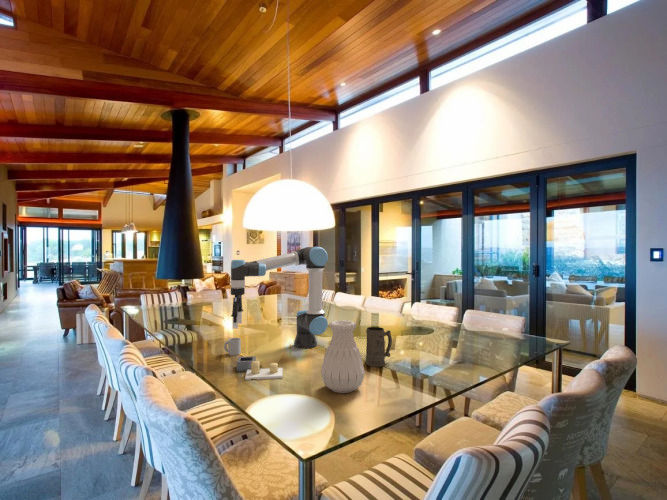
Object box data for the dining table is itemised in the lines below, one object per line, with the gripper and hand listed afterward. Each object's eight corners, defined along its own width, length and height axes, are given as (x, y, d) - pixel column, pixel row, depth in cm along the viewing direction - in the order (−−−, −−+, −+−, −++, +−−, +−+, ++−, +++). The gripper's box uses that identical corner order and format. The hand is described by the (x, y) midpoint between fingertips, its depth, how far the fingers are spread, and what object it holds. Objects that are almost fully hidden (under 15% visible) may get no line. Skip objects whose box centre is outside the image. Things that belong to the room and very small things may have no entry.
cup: (238, 355, 212) (238, 340, 212) (222, 355, 212) (222, 340, 212) (242, 352, 220) (242, 337, 220) (225, 352, 220) (225, 337, 220)
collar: (255, 365, 195) (255, 356, 195) (254, 371, 186) (254, 361, 186) (238, 366, 194) (238, 356, 194) (236, 371, 185) (236, 362, 185)
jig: (282, 370, 188) (282, 357, 188) (282, 378, 176) (282, 364, 176) (247, 371, 185) (247, 358, 185) (245, 380, 173) (245, 366, 173)
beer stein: (371, 368, 191) (373, 330, 191) (360, 362, 200) (362, 326, 201) (394, 365, 198) (396, 329, 198) (383, 360, 207) (385, 325, 208)
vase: (351, 401, 149) (351, 329, 149) (312, 391, 160) (312, 324, 160) (372, 386, 166) (372, 321, 166) (335, 377, 177) (335, 316, 177)
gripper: (234, 285, 211) (234, 321, 211) (226, 290, 186) (226, 330, 186) (247, 285, 212) (247, 321, 212) (241, 289, 187) (240, 330, 187)
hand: (237, 325), depth 199 cm, fingers open, 13 cm apart
